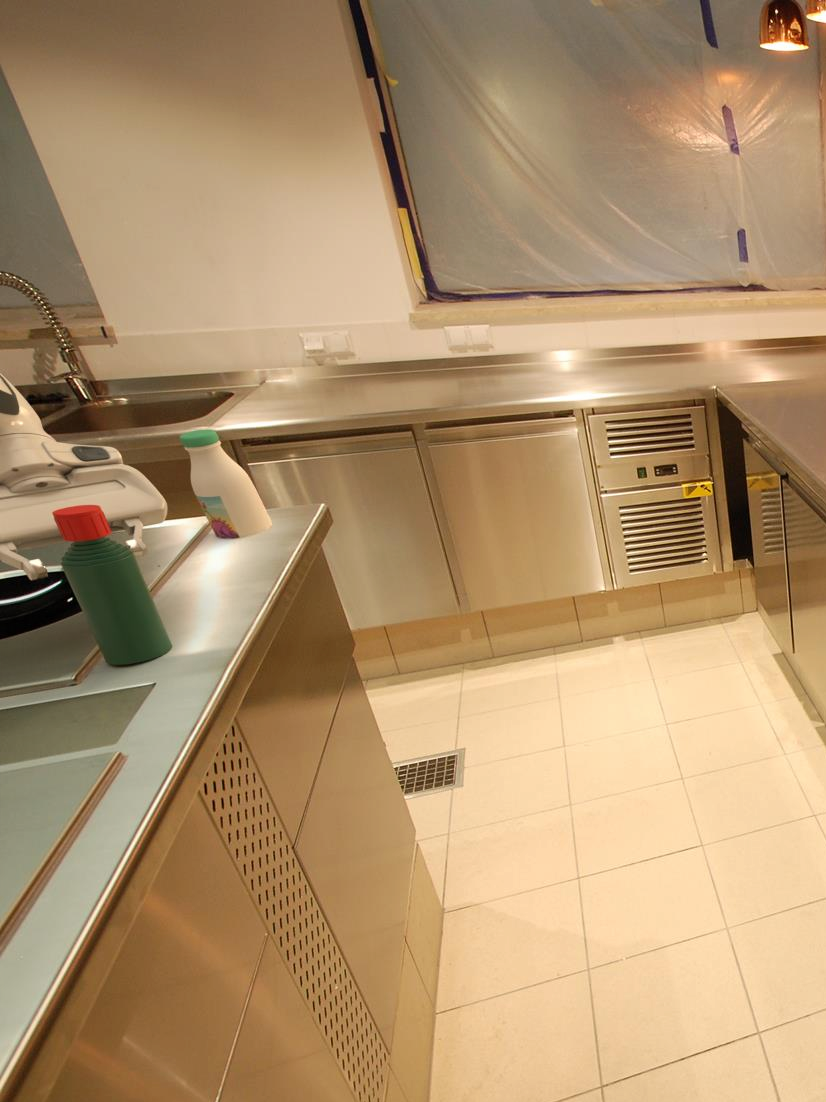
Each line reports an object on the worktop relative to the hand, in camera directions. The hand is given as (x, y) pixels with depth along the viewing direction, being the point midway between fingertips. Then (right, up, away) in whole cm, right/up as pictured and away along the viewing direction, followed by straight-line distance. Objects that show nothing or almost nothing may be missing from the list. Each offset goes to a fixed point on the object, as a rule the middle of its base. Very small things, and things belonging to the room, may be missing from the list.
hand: (91, 564), depth 103 cm
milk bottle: (-13, +6, +39) cm, 42 cm away
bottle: (+2, -11, +4) cm, 12 cm away
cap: (+3, +3, -3) cm, 5 cm away
